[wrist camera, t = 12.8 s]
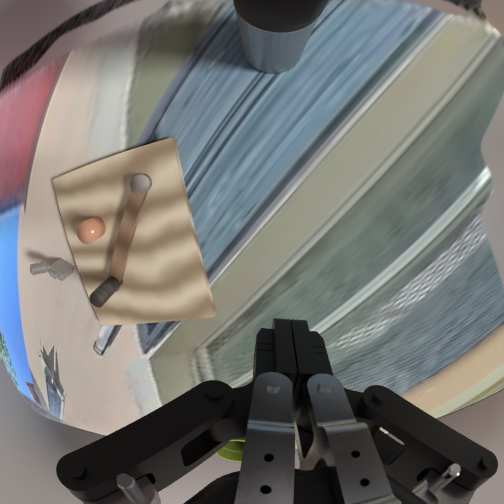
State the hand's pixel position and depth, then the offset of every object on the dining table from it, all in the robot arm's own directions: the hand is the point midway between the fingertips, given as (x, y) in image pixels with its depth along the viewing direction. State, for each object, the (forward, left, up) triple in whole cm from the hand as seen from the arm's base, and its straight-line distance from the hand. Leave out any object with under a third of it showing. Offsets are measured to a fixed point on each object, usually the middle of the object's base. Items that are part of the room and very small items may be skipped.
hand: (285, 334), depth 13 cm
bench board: (+3, -26, -35) cm, 44 cm away
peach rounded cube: (-2, -31, -33) cm, 45 cm away
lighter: (+4, -45, -35) cm, 57 cm away
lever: (+1, -24, -32) cm, 40 cm away
